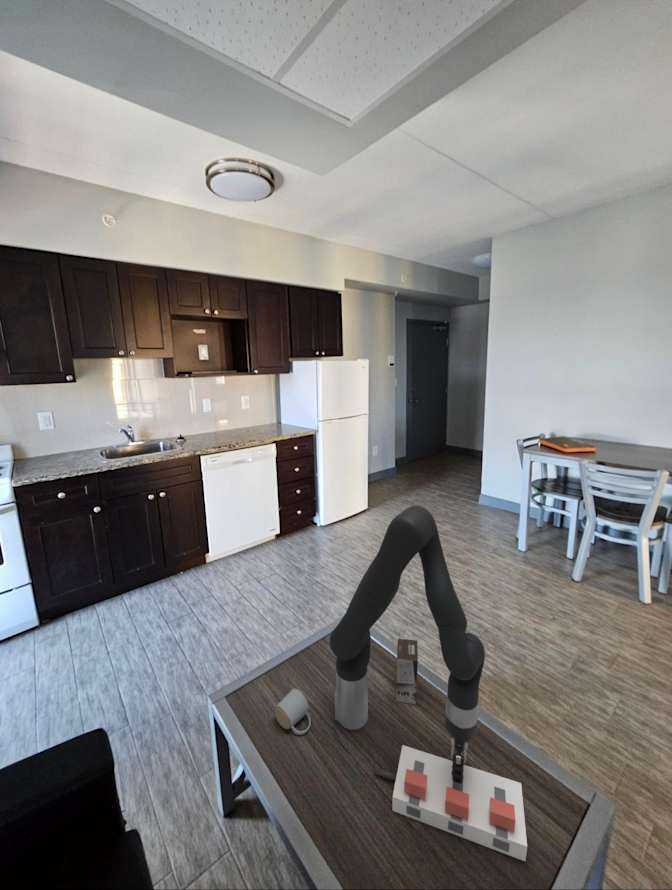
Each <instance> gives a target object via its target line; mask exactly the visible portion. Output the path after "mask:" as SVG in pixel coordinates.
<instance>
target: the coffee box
mask: <svg viewBox="0 0 672 890" xmlns="http://www.w3.org/2000/svg"><path fill="white" fill-rule="evenodd" d="M396 649H397V650H396V652H397V653H396V702H401V703H407V704H413V705H416V704H417V692H418V691H417V690H418V689H417V687H418V666H419V665H418V664H419V663H418V662H419V654H418V640H415V639H406V638H405V639H403V638H398V639H397V647H396Z"/></svg>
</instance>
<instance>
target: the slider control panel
mask: <svg viewBox="0 0 672 890" xmlns="http://www.w3.org/2000/svg"><path fill="white" fill-rule="evenodd" d="M452 765H453V760H450V759H447V758H444V757H440V756H438V755H435V754H432V753H428V752H425V751H422V750H419V749H416V748H413V747H410V746H406V745H404V744H402V745H401V751H400V755H399V761H398V766H397V767H398V768H397V772H396V774H395V773H392V772H391V771H386V770H384V769H382V768H378V767H376V766H375V767H374V771H373V772H374V774H376V775H377V776H381V777H384V778H388V779H389V780H393V781H395V782H394V787H393V793H392V806H391V808H392V812H394V813H397V814H399V815H403V816H406V817H408V818H410V819H413V820H416V821H417V822H421V823H424V824H426V825H427V826H432V827H434V828H436V829H439V830H442V831H445V832H446V833H449V834H452V835H455V836H457V837H460V838H463V839H465V840H468V841H471V842H474V843H476V844H479V845H481V846H483V847H486V848H489V849H491V850H494V851H496V852H499V853H502V854H505V855H507V856H509V857H512V858H515V859H517V860H520V861H521V862H522V861H523V862H526V861H527V853H528V852H527V851H528V840H527V839H528V838H527V830H526V819H525V818H526V817H525V809H524V799H523V797H524V796H523V788H522V783H521V782H519V781H515V780H512V779H510V778H506V777H503V776H501V775H498V774H497V775H496V774H495V773H494V774H493V773H491V772H487V771H485V770H481V769H478V768H475V767H471V766H469V765H466V764H464V767H463V770H464V772H463V775H464V776H463V780H462V783H461V784H459V783H456V782H454V781H453V780H452V774H451V771H452ZM406 769H409V770H412V771H415V772H418V773H421V774H424V775H427V791H426V799H425V800H424V799H421V798H418V797H416V796H413V795H410V794H407V793H405V792H404V780H405V775H406ZM446 787H449V788H452V789H455V790H458V791H461V792H464V793H467V794H469V813H468V820H466V819H463V818H460V817H458V816H455V815H452V814H450V813H447V812H445V801H446ZM490 797H492V798H495V799H498V800H501V801H503V802H506V803H509V804H512V805H514V808H515V828H514V832H512V831H510V830H507V829H504V828H501V827H499V826H496V825H493V824H490V823H489V804H490Z"/></svg>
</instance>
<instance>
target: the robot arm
mask: <svg viewBox="0 0 672 890" xmlns="http://www.w3.org/2000/svg"><path fill="white" fill-rule="evenodd" d="M382 539H383V540H382V541H381V542H382V543H381V544H380V547H379V550H378V552H377V553H376V556H375V557H374V558H373V560H372V562H370V564H369V566H368V568H367V569H366V571H365V573H363V576H362V578H361V580H360V581H359V584H358V585H357V588H356V589H355V592H354V593H353V596H352V598H351V600H350V602H349V605H348V606H347V609H346V611H345V613H344V616H343V617H342V618H341V620H340V621H339V622H338V624H337V625H336V627H334V629H332V630H331V631H332V632H330V637H329V646H330V649H331V653H333V655H334V656H335V657H336V661H335V673H336V674H335V675H336V676H335V680H336V690H335V692H334V696H333V697H334V718H335V721H337V722H338V723H340V725H341V726H342V727H343V728H344V729H347V730H350V731H351V730H352V731H355V730H359V729H362V728H363V727H364V726H365V725H366V724H367V722H368V719H369V716H368V715H369V708H368V707H369V706H368V705H369V704H368V703H369V700H368V698H369V697H368V695H369V694H368V693H369V692H368V689H369V688H368V687H369V686H368V683H369V682H368V665H369V662H370V659H371V641H372V639H371V630H370V629H371V628H372V627H373V626H374V625H375V624H376V623H377V621H378V620H379V619H380V618H381V617H382V615H383V614H384V613H385V612H386V610H387V609H388V608H389V606H390V604H391V603H392V602H393V599H394V598H395V597H396V595H397V593H398V591H399V588H400V584H401V583H400V582H401V577H402V574H403V572H404V571H405V569H406V567H407V566H408V565H409V563H410V562H411V561H412V559H414V557H415V556H416V555H418V556H419V559H420V562H421V566H422V567H421V568H422V572H423V580H424V590H425V596H426V602H427V605H428V607H429V611H430V612H431V615H432V617H433V620H434V622H435V625H436V627H437V630H438V638H439V643H440V648H441V649H440V650H441V654H442V658H443V661H444V664H445V666H446V668H447V670H448V671H449V676H448V678H447V691H446V693H447V695H446V697H445V698H446V699H445V712H444V725H445V729H446V732H447V733H448V734H449V735H450V736H451V739H450V743H451V752H450V757H451V759H452V761H453V765H452V771H451V774H452V780H453V781H454V782H456V783H459V784H461V783H462V780H463V776H464V775H463V772H464V770H463V767H464V765H465V764H466V762H467V753H468V752H467V750H468V747H469V742H471V741H472V740H474V738H475V737H476V735H477V733H478V723H479V693H480V691H479V690H480V681H481V677H482V673H483V671H484V670H483V669H484V665H485V659H486V651H485V647H484V645H483V642H482V640H480V638H479V637H478V636H477V635H475V634H473V633H470V632H466V631H467V626H468V620H467V617H466V614H465V611H464V609H463V606H462V605H461V602H460V600H459V597H458V594H457V592H456V590H455V587H454V584H453V583H452V579H451V576H450V573H449V569H448V564H447V562H446V558H445V555H444V551H443V548H442V544H441V543H442V542H441V539H440V535H439V531H438V525H437V522H436V520H435V518H434V516H433V514H432V513H431V512H430V511H429V510H428V509H427V508H425V507H424V506H422V505H421V506H420V505H412V506H409V507H407V508H406V509H404V510H403V511H402V512H400V513H399V514H397V515H396V516H394V518H393V519H392V520H391V521H390V523H389V524H388V526H387V528H386V531H385V534H384V537H383V538H382ZM455 752H456V753H455ZM462 754H463V755H462Z"/></svg>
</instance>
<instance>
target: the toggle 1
mask: <svg viewBox="0 0 672 890" xmlns="http://www.w3.org/2000/svg"><path fill="white" fill-rule="evenodd" d="M426 791H427V775H424V774H421V773H418V772H415V771H412V770H409V769H406V775H405V780H404V792H405V793H407V794H410V795H413V796H416V797H418V798H421V799H424V800H425V799H426Z"/></svg>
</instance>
